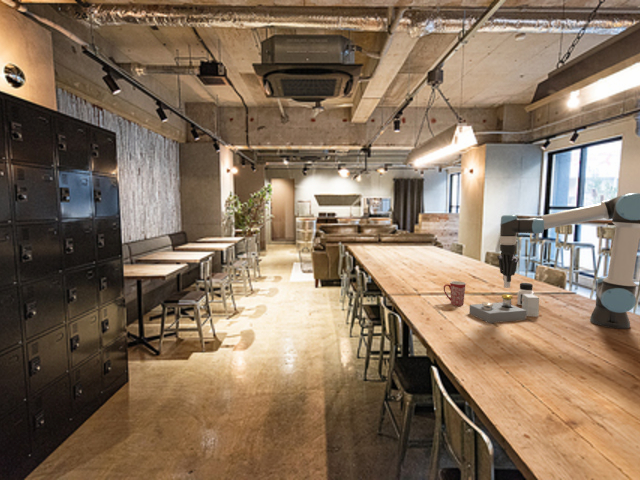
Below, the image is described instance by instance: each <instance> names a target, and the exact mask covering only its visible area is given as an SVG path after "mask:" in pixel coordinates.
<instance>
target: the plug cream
mask: <svg viewBox="0 0 640 480" xmlns="http://www.w3.org/2000/svg"><path fill="white" fill-rule="evenodd" d="M492 303H493V302H489V301H488V302H485V301H483V302H481V304H482V306H483V309H486V310H492V307H493V304H492Z"/></svg>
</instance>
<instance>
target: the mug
mask: <svg viewBox="0 0 640 480" xmlns="http://www.w3.org/2000/svg"><path fill="white" fill-rule="evenodd" d="M449 283H450V284H448V283H447V284H444V286H443V292H444V294H445V296H446V297H447V298H448V300H449V301H450V304H451V305H452V306H456V307H457V306H458V307H460V306H464V303H465V293H466V284H467V283H466V282H464V281H458V280H455V281H454V280H453V281H449ZM446 287H448V288H449V290H450V296H449V295H448V294H447V291H446Z"/></svg>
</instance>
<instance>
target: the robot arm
mask: <svg viewBox="0 0 640 480" xmlns="http://www.w3.org/2000/svg"><path fill="white" fill-rule="evenodd" d="M603 219H604V220H607V221H608V220H611V223H612V224H613V225H614V226H615V230H614V236H613V242H612V245H611V246H612V247H611V252H610V259H609V260H610V261H609V266H608V271H607V276H606V277H599V278H598V279H597V281H596V294H595V295H596V296H595V307H594V309H593V311H592V313H591V315H590V319H589V320H590V322H591V323H592V324H595V325H598V326H601V327H605V328H610V329H618V330H620V329H621V330H622V329H623V330H625V329H630V327H631V321H630V317H629V315H628V312H630V311H632V309H633V308H634V307H635V306H636V303H637V300H636V296H635V294H636V288H637V284H636V283H635V282H634V281H633V278H634V272H635V269H636V268H635V267H636V261H637V255H638V250H639V249H638V248H639V243H640V192H628V193H624V194H622V195H619V196H615V197H612V198H610V199H606V200H601V202H600V203H597V204H591V205H586V206H582V207H578V208H572V209H568V210H563V211H558V212H557V211H556V212H553V213H549V214H544V215H539V216H535V217H534V216H533V217H529V218H518V216H517V215H516V214H503V215H502V216H501V217H500V224H499V225H500V229H499V230H500V237H499V243H500V244H499V251H500V254H499V255H497V256H496V257H497V260H498V265H499V267H498V268H499V273H500V274H502V275H503V278H502V279H503V288H504V289H505V288H506V289H508V288H509V289H510V288H511V282H512V276H515V275H516V270H517V266H518V262H519V261H520V258H519V257H516V254H515V252H516V251H517V245H516V244H517V234H534V235H535V234H543V233H544V230H548V229H553V228H558V227H565V226H570V225H575V224H580V223H581V224H582V223H586V222H593V221H597V220H603Z"/></svg>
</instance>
